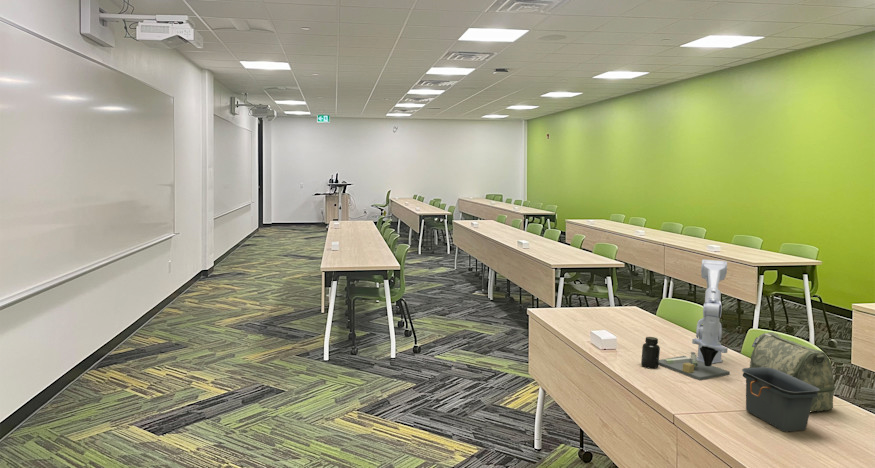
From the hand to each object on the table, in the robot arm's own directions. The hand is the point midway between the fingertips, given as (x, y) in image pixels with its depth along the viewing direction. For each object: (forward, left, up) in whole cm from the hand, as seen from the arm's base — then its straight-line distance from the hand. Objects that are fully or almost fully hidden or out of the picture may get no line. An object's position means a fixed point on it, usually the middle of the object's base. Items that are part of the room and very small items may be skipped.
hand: (707, 365), depth 228 cm
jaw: (-1, -7, -1) cm, 7 cm away
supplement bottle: (+14, -17, -4) cm, 22 cm away
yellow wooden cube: (+7, -3, -2) cm, 8 cm away
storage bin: (+20, +39, -4) cm, 44 cm away
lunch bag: (-4, +29, -4) cm, 30 cm away
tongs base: (0, -8, -4) cm, 8 cm away
